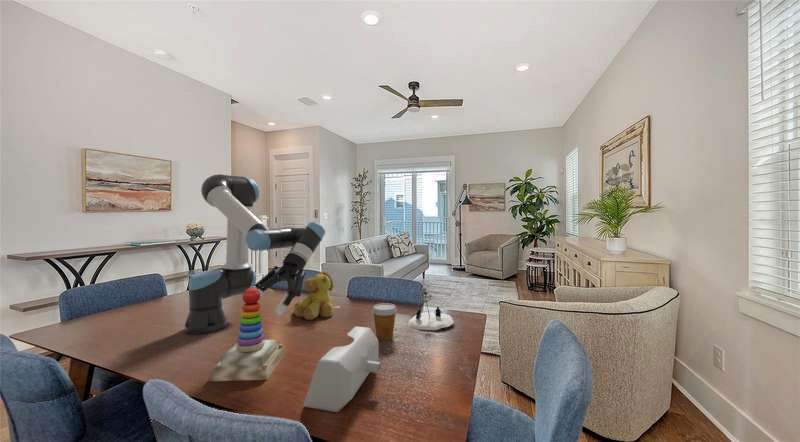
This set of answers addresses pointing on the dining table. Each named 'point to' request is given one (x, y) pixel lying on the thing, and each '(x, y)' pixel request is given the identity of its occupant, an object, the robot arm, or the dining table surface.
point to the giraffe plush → (316, 298)
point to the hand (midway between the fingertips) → (263, 310)
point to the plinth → (248, 370)
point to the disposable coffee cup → (384, 320)
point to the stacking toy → (250, 323)
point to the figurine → (430, 317)
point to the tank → (343, 371)
